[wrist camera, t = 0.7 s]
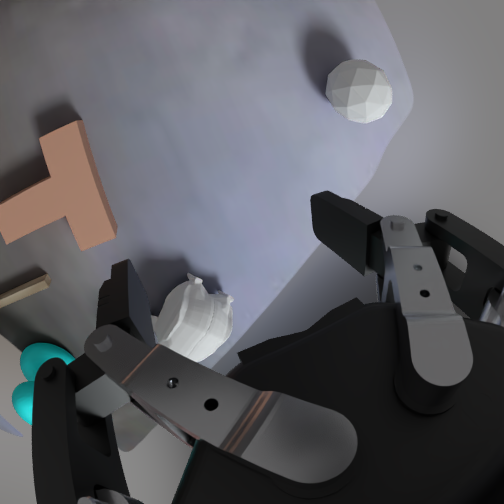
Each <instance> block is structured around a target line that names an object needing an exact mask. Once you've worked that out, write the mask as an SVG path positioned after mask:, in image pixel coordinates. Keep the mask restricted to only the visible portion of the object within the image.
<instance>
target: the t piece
mask: <svg viewBox="0 0 504 504" xmlns="http://www.w3.org/2000/svg"><path fill="white" fill-rule="evenodd" d="M39 141H40V144H41V147H42V151H43V154H44V157H45V161H46V164H47V167H48V170H49V173H50V176H49V177H46V178H44V179H42V180H40V181H38V182H37V183H35V184H33V185H31V186H29V187H27V188H25V189H23V190H21V191H20V192H18V193H16V194H14V195H12V196H11V197H9V198H7V199H6V200H4V201H2V202H1V203H0V231H1V234H2V236H3V238H4V240H5V242H6V244H9V243H11V242H13V241H15V240H16V239H18V238H20V237H22V236H24V235H26V234H28V233H30V232H32V231H34V230H36V229H38V228H40V227H43V226H45V225H47V224H49V223H51V222H53V221H55V220H58V219H60V218H62V217H64V216H66V218H67V220H68V223H69V225H70V227H71V230H72V232H73V234H74V236H75V239H76V241H77V243H78V245H79V247H80V249H81V251H84V250H86V249H88V248H91V247H93V246H96V245H98V244H101V243H104V242H106V241H109V240H111V239H114V238H116V234H117V224H116V221H115V219H114V216H113V214H112V211H111V208H110V206H109V203H108V200H107V197H106V195H105V192H104V189H103V186H102V183H101V180H100V177H99V174H98V171H97V168H96V165H95V162H94V158H93V155H92V152H91V148H90V145H89V142H88V138H87V134H86V131H85V127H84V123H83V120H77V121H74V122H72V123H70V124H68V125H65V126H63V127H61V128H59V129H57V130H55V131H53V132H51V133H48V134H46V135H44V136H43V137H41V138H39Z"/></svg>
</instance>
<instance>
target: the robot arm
mask: <svg viewBox="0 0 504 504" xmlns="http://www.w3.org/2000/svg"><path fill="white" fill-rule="evenodd" d="M310 202H311V213H312V225H313V231H314V233H315V235H316V237H317V238H318V239H319V240H320V241H321V242H322V243H323V244H325V245H326V246H327V247H329V248H330V249H331V250H332V251H334V252H335V253H336V254H337V255H339V256H340V257H341V258H342V259H344V260H345V261H346V262H347V263H348V264H350V265H351V266H352V267H353V268H355V269H356V270H357V271H358V272H360V273H361V274H362V275H363V276H367V275H368V274H371V273H373V272H374V271H375V272H376V287H377V299H378V302H375V303H369V304H365V305H364V304H363V303H362V302H361V301H360V300H359V299H358V298H354V299H352V300H350V301H349V302H346V303H345V304H343V305H341V306H339V307H337V308H335V309H333V310H331V311H330V312H328V313H327V314H326V315H325V316H324V317H322V318H321V319H320V320H319V321H318V322H316V323H315V324H314V325H312V326H311V327H310V328H309V329H307V330H305V331H303V332H299V333H294V334H290V335H286V336H281V337H277V338H273V339H269V340H266V341H264V342H262V343H259V344H257V345H255V346H252V347H250V348H248V349H245V350H243V351H240V352H238V356H239V359H240V361H241V363H239V364H238V365H237V366H235V367H234V368H233V369H232V370H231V371H229V373H228V374H227V375H226V376H224V375H222V374H220V373H217V372H215V371H213V370H211V369H209V368H207V367H205V366H203V365H201V364H199V363H197V362H195V361H193V360H191V359H189V358H187V357H185V356H183V355H181V354H179V353H177V352H175V351H173V350H171V349H169V348H167V347H166V346H164V345H161V344H156V343H155V337H154V331H153V325H152V319H151V312H150V306H149V301H148V297H147V295H146V292H145V290H144V288H143V286H142V284H141V281H140V279H139V277H138V275H137V273H136V271H135V269H134V267H133V265H132V263H131V261H130V259H127V260H124V261H121V262H119V263H116V264H114V265H112V269H111V279H109V280H106V281H104V283H103V285H102V286H101V288H100V290H99V298H98V299H99V301H98V309H97V321H96V330H94V331H93V332H92V333H91V334H90V335H89V336H88V338H87V339H86V341H85V345H84V351H85V353H84V354H83V355H81V356H80V357H78V358H77V359H75V360H74V361H72V362H71V363H69V364H68V365H67V364H66V363H65V362H64V361H63V360H62V359H61V358H58V357H54V358H51V359H48V360H47V361H45V362H44V363H43V364H42V365H41V366H40V368H39V369H38V371H37V373H36V376H35V381H34V392H33V407H32V459H33V474H34V485H35V493H36V500H37V504H144V503H142V502H141V501H139V500H137V499H135V498H131V497H130V494H129V490H128V487H127V483H126V480H125V476H124V473H123V469H122V464H121V460H120V456H119V451H118V447H117V442H116V437H115V432H114V426H113V421H112V415H111V413H112V412H114V411H115V410H117V409H118V408H120V407H122V406H123V405H125V404H126V403H128V402H130V403H131V404H132V405H134V406H135V407H136V408H137V409H139V410H140V411H141V412H143V413H144V414H145V415H147V416H148V417H149V418H151V419H152V420H153V421H155V422H156V423H157V424H159V425H160V426H161V427H163V428H164V429H166V430H167V431H168V432H170V433H171V434H172V435H173V436H175V437H176V438H178V439H179V440H180V441H182V442H183V443H185V444H186V445H188V446H189V447H191V448H192V449H193V450H192V452H191V455H190V458H189V460H188V463H187V465H186V468H185V470H184V473H183V476H182V478H181V481H180V483H179V486H178V488H177V491H176V494H175V496H174V498H173V501H172V504H504V246H503V245H502V244H500V243H499V242H497V241H496V240H494V239H493V238H491V237H490V236H488V235H487V234H485V233H483V232H482V231H480V230H479V229H477V228H475V227H474V226H472V225H470V224H469V223H467V222H465V221H463V220H462V219H460V218H459V217H457V216H455V215H453V214H452V213H450V212H447V211H445V210H440V209H432V210H429V211H427V213H426V219H425V222H424V223H418V224H414V223H413V222H412V221H411V220H409V219H408V218H406V217H403V216H395V215H393V216H387V217H384V218H383V217H381V216H380V215H378V214H376V213H374V212H372V211H370V210H369V209H365V207H363V206H361V205H359V204H358V203H356V202H354V201H352V200H349V199H345V198H341V197H340V196H338V195H336V194H334V193H332V192H330V191H324V192H320V193H317V194H314V195H312V196H311V200H310ZM451 247H453V248H454V249H456V250H457V251H459V252H460V253H461V254H463V255H464V256H465V257H466V259H467V269H466V273H464V272H462V271H461V270H460V269H458V268H457V267H456V266H454V265H453V264H451V263H450V262H449V261H448V259H449V254H450V250H451ZM452 302H453V303H454V304H455V305H456V306H457V307H459V308H460V309H461V310H462V311H463V312H465V314H466V315H467V316H469V317H470V318H471V319H469V318H464V317H461V316H460V315H459V314H456V313H455V311H454V308H453V305H452Z"/></svg>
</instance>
